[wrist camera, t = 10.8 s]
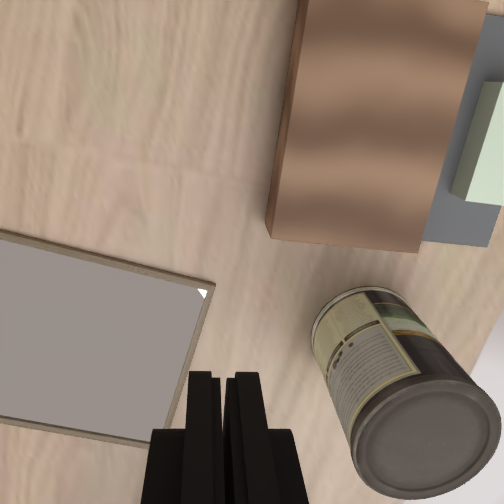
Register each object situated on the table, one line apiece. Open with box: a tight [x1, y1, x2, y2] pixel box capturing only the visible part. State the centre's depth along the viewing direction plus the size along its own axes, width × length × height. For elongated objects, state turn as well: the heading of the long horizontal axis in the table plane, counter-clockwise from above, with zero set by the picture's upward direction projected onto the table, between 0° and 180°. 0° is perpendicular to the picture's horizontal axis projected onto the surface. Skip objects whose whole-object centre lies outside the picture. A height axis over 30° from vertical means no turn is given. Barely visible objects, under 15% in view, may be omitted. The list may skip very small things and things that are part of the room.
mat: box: [421, 14, 504, 247], centre depth 37 cm, size 18×8×1 cm, turn 172°
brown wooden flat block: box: [265, 0, 489, 254], centre depth 34 cm, size 18×12×4 cm, turn 172°
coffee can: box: [311, 287, 501, 500], centre depth 37 cm, size 10×10×14 cm
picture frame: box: [0, 229, 216, 449], centre depth 41 cm, size 19×1×28 cm
